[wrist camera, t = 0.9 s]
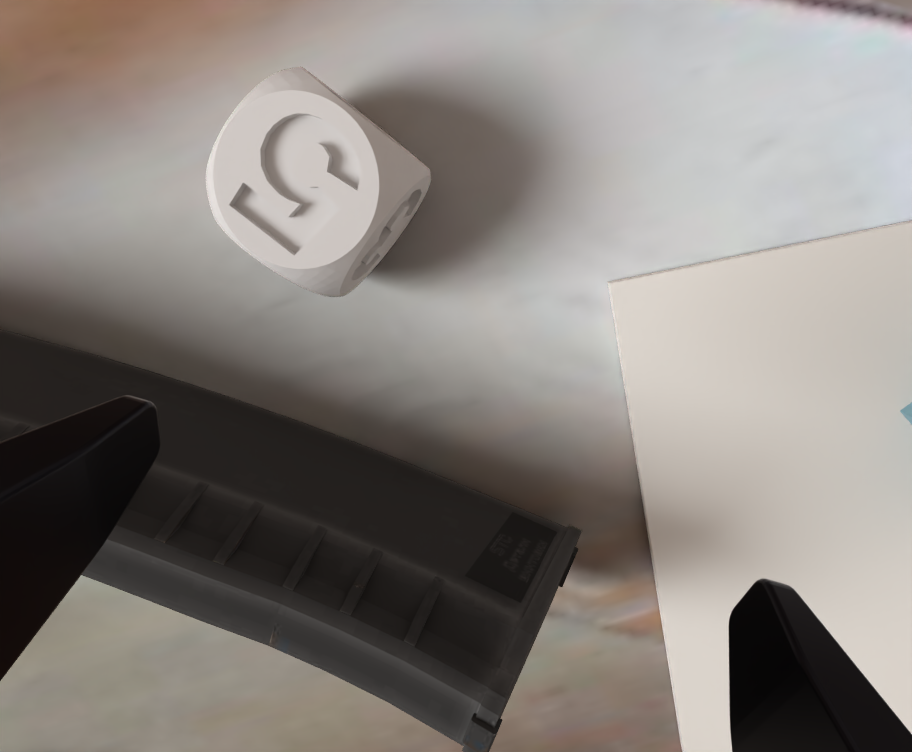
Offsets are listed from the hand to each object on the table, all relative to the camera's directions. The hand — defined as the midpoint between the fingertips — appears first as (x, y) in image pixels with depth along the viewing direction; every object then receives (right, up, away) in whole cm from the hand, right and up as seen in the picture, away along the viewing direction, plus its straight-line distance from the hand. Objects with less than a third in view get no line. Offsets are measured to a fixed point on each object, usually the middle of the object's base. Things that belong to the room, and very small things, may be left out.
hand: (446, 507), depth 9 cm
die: (-4, +8, +13) cm, 16 cm away
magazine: (-10, 0, +16) cm, 19 cm away
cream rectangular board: (+15, -4, +14) cm, 21 cm away
